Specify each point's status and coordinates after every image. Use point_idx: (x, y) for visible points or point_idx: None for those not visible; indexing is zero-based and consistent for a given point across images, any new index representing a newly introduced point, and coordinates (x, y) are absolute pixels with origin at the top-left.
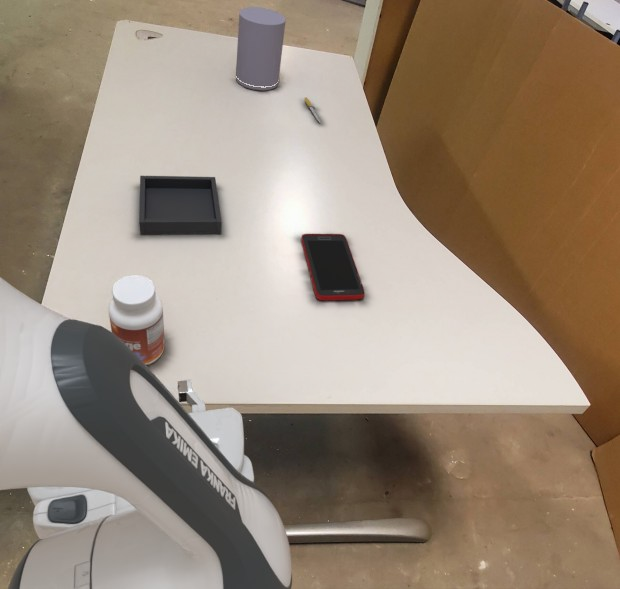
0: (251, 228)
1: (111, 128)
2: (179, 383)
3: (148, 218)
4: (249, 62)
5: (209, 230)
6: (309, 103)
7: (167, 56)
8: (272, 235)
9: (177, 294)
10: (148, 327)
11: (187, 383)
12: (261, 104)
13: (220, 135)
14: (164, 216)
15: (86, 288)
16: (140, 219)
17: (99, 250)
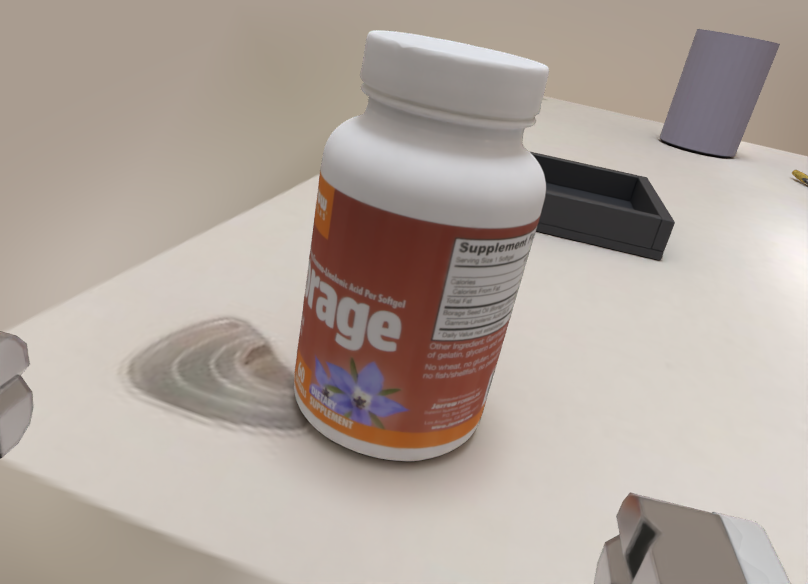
0: (739, 273)
1: None
2: (657, 510)
3: None
4: (698, 102)
5: (635, 241)
6: (806, 176)
7: (551, 109)
8: (803, 297)
9: (541, 321)
10: (468, 229)
11: (733, 538)
12: (710, 163)
13: (640, 168)
14: None
15: (301, 244)
16: None
17: None
